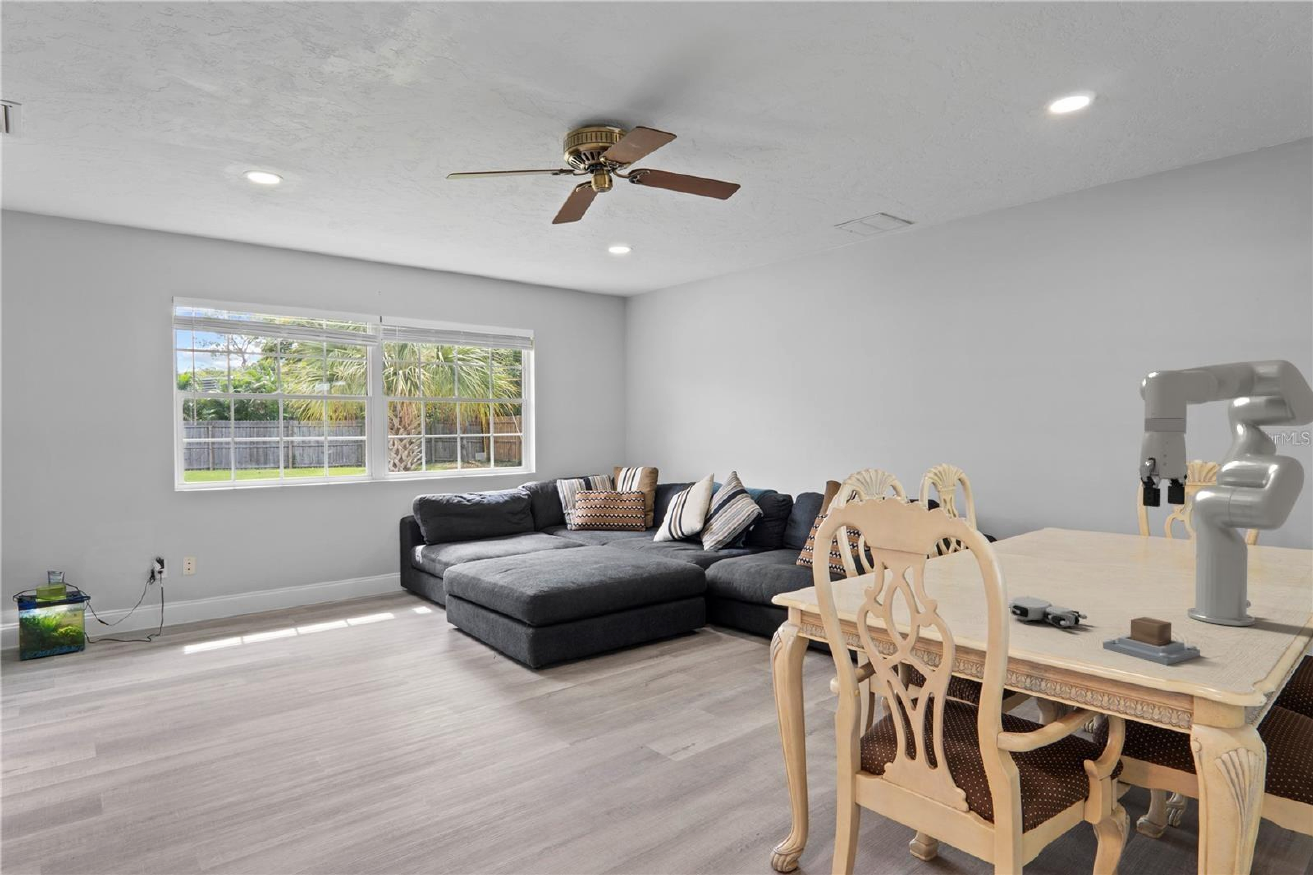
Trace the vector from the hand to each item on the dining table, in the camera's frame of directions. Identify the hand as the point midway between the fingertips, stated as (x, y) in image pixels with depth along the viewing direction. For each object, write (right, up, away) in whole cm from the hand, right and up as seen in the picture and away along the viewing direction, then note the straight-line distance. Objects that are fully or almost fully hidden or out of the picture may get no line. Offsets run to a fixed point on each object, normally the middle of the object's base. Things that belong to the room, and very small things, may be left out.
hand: (1163, 505), depth 158 cm
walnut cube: (-11, -27, -12) cm, 32 cm away
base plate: (-11, -29, -12) cm, 33 cm away
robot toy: (-21, -29, +10) cm, 37 cm away
